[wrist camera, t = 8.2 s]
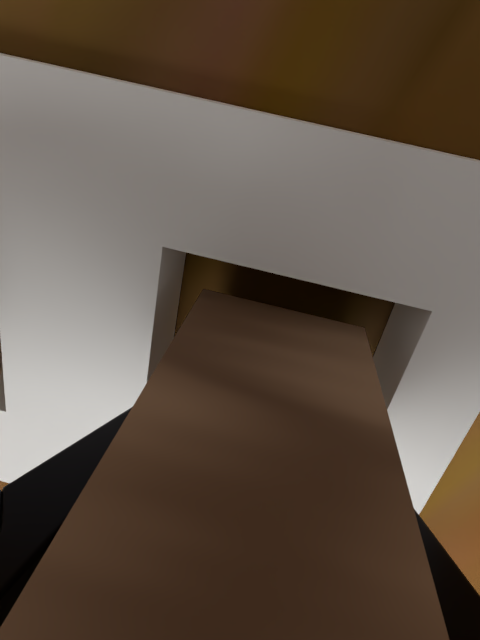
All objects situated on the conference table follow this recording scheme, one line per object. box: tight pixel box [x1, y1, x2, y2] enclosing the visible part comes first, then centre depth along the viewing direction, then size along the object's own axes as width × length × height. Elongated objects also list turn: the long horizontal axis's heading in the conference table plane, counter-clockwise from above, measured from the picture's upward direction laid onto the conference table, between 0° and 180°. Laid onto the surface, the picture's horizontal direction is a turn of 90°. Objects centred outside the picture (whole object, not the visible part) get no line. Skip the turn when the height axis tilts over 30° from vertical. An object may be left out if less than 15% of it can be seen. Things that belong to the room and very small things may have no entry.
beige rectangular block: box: [0, 289, 449, 640], centre depth 7 cm, size 4×4×8 cm
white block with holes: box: [0, 53, 480, 514], centre depth 9 cm, size 20×12×8 cm, turn 79°
